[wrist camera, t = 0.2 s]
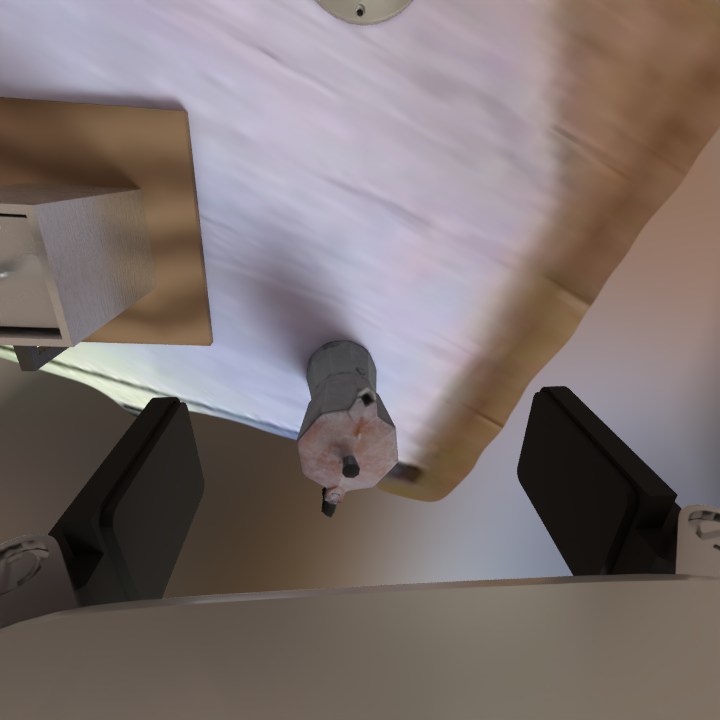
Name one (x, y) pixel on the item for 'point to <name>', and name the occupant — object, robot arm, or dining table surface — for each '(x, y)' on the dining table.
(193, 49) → the dining table surface
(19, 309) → the plunger
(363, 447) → the moka pot
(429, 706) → the robot arm
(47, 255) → the open box
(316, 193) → the dining table surface
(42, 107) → the walnut board
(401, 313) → the dining table surface
